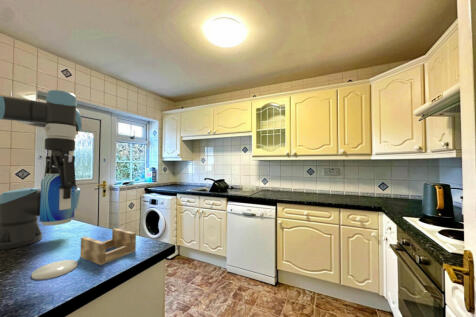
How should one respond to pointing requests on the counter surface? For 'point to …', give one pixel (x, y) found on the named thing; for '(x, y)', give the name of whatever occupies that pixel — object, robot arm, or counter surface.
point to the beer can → (54, 202)
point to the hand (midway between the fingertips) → (58, 207)
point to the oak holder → (97, 249)
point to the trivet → (54, 269)
